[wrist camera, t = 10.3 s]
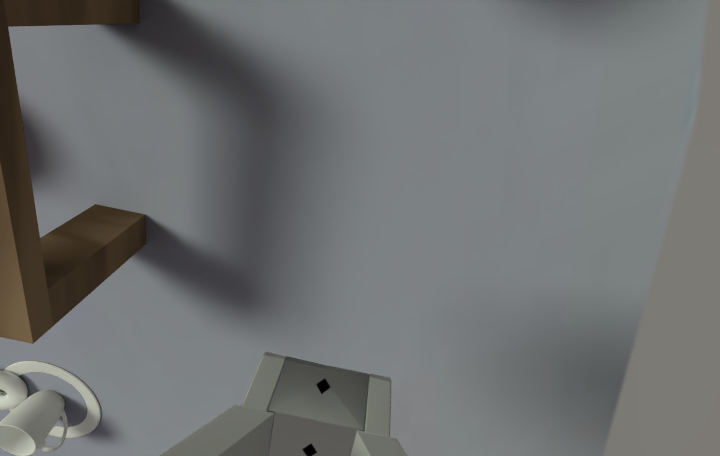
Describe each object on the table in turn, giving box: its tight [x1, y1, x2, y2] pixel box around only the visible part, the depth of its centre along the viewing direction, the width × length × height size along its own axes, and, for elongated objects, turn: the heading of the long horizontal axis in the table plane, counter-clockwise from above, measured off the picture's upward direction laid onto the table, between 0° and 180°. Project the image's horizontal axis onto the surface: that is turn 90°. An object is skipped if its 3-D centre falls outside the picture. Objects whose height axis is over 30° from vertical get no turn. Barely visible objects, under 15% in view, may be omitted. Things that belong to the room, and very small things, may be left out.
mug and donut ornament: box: [0, 361, 101, 456], centre depth 32 cm, size 9×8×4 cm
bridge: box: [0, 0, 146, 344], centre depth 20 cm, size 3×14×9 cm, turn 169°
